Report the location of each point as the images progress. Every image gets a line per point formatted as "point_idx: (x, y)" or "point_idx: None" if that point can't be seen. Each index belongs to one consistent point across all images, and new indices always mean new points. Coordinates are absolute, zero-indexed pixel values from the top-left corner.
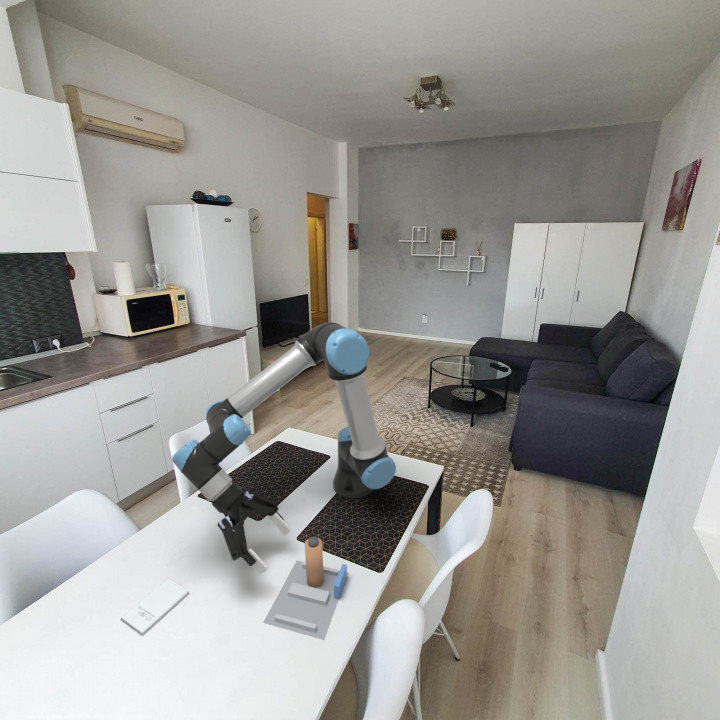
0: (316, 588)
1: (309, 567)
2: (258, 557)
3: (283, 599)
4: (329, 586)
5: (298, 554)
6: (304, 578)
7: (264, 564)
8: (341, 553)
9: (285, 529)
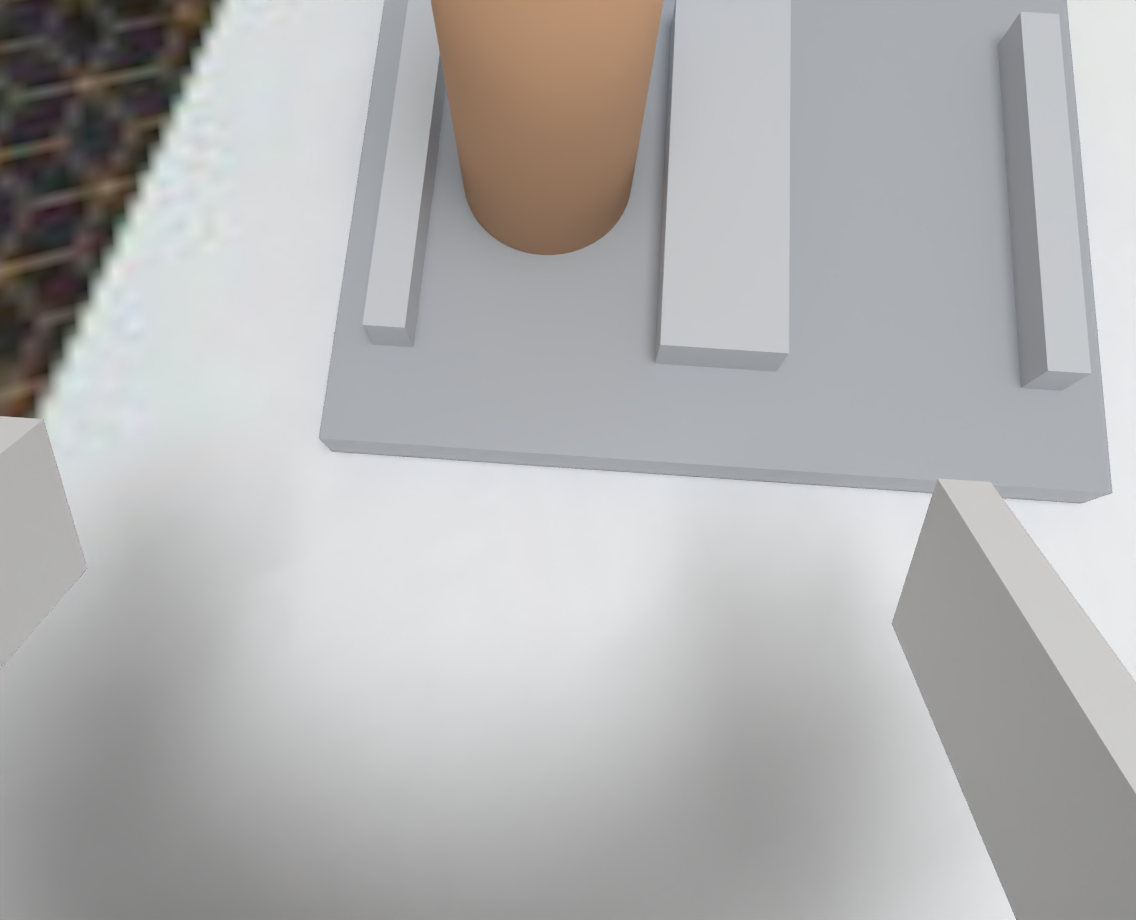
0: (673, 105)
1: (658, 17)
2: (1069, 655)
3: (825, 398)
4: None
5: (197, 478)
6: (539, 284)
7: (995, 534)
8: (141, 73)
9: (4, 526)
